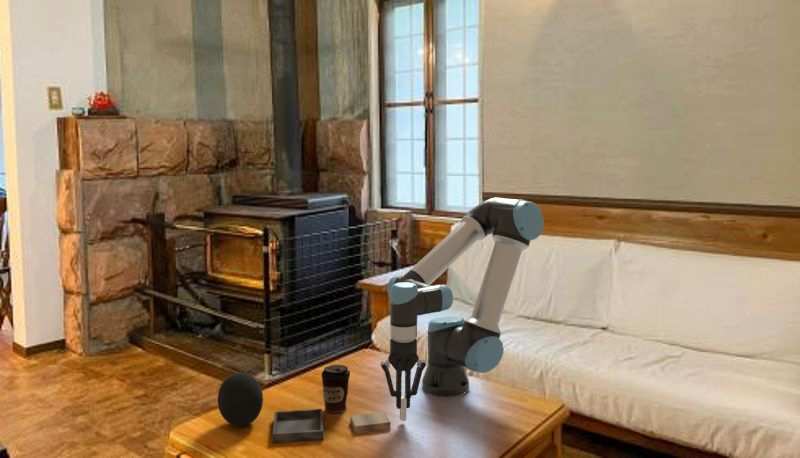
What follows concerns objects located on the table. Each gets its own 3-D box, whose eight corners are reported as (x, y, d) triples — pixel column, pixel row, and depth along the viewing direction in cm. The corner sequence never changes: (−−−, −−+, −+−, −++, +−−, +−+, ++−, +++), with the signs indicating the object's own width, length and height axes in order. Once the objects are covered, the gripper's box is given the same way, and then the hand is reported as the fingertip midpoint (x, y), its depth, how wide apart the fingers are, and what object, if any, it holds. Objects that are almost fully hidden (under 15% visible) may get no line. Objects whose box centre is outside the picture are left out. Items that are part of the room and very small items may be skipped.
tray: (321, 416, 189) (321, 408, 189) (323, 439, 175) (323, 431, 175) (275, 419, 187) (274, 411, 187) (272, 443, 173) (272, 434, 173)
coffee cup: (345, 417, 189) (344, 374, 187) (317, 414, 191) (317, 372, 189) (353, 405, 198) (352, 364, 196) (327, 402, 199) (326, 362, 197)
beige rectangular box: (384, 420, 188) (384, 411, 188) (390, 430, 182) (390, 422, 181) (350, 423, 186) (350, 415, 186) (355, 434, 179) (355, 426, 179)
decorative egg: (247, 437, 176) (246, 384, 174) (209, 430, 181) (207, 378, 179) (271, 418, 188) (270, 369, 186) (235, 412, 192) (233, 363, 190)
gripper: (423, 333, 186) (423, 411, 189) (378, 335, 184) (378, 414, 187) (429, 341, 179) (428, 423, 182) (381, 343, 177) (381, 425, 180)
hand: (403, 418), depth 185 cm, fingers closed
